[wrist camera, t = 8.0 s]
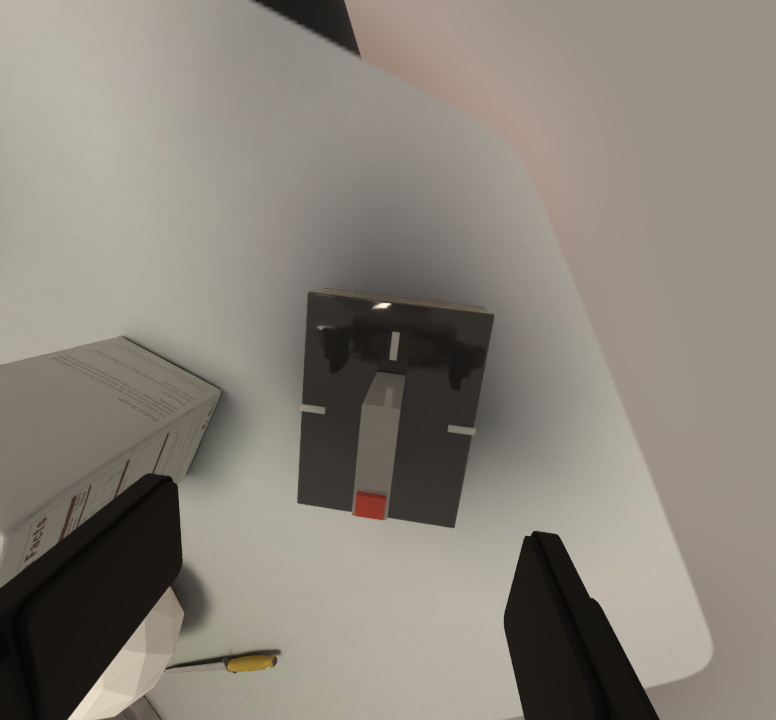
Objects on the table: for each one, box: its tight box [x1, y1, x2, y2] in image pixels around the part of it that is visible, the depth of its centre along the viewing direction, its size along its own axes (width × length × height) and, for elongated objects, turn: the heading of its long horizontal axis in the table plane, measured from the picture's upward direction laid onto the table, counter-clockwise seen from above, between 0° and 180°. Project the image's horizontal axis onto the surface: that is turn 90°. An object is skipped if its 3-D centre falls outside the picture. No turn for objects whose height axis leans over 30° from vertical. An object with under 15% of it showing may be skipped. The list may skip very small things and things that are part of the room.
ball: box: [68, 586, 184, 720], centre depth 24 cm, size 8×8×8 cm
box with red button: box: [352, 372, 406, 520], centre depth 16 cm, size 5×2×5 cm, turn 174°
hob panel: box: [297, 288, 494, 528], centre depth 20 cm, size 12×9×3 cm
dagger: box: [163, 655, 277, 673], centre depth 28 cm, size 11×1×2 cm
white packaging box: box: [0, 336, 222, 588], centre depth 17 cm, size 7×7×13 cm
